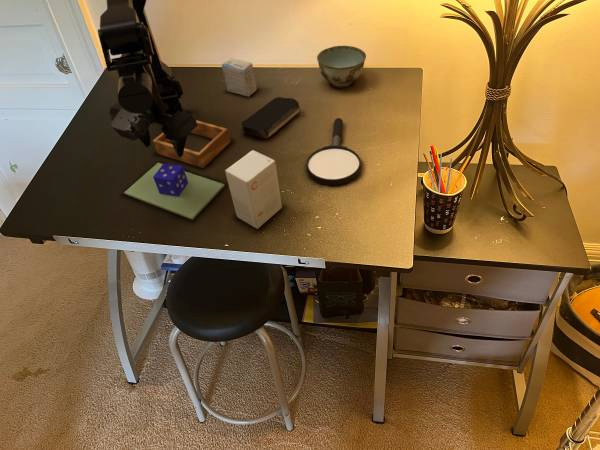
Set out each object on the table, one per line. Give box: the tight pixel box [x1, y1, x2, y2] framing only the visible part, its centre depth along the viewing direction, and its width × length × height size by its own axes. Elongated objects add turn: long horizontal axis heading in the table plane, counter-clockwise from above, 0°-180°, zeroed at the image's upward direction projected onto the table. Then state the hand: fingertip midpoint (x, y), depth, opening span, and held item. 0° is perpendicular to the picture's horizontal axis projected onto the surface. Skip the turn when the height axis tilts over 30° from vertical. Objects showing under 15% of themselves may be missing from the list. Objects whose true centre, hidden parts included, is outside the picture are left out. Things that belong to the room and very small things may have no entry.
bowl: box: [316, 45, 367, 88], centre depth 131 cm, size 14×13×8 cm
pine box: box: [152, 119, 231, 169], centre depth 116 cm, size 15×12×4 cm
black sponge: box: [240, 96, 301, 139], centre depth 121 cm, size 16×8×4 cm, turn 144°
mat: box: [123, 162, 226, 221], centre depth 106 cm, size 20×12×1 cm, turn 61°
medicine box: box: [221, 57, 258, 98], centre depth 132 cm, size 8×4×9 cm, turn 58°
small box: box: [224, 149, 283, 230], centre depth 94 cm, size 8×6×13 cm
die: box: [153, 162, 188, 196], centre depth 104 cm, size 5×5×5 cm
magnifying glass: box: [306, 117, 362, 186], centre depth 110 cm, size 12×24×2 cm, turn 173°
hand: (164, 151), depth 100 cm, fingers open, 9 cm apart
